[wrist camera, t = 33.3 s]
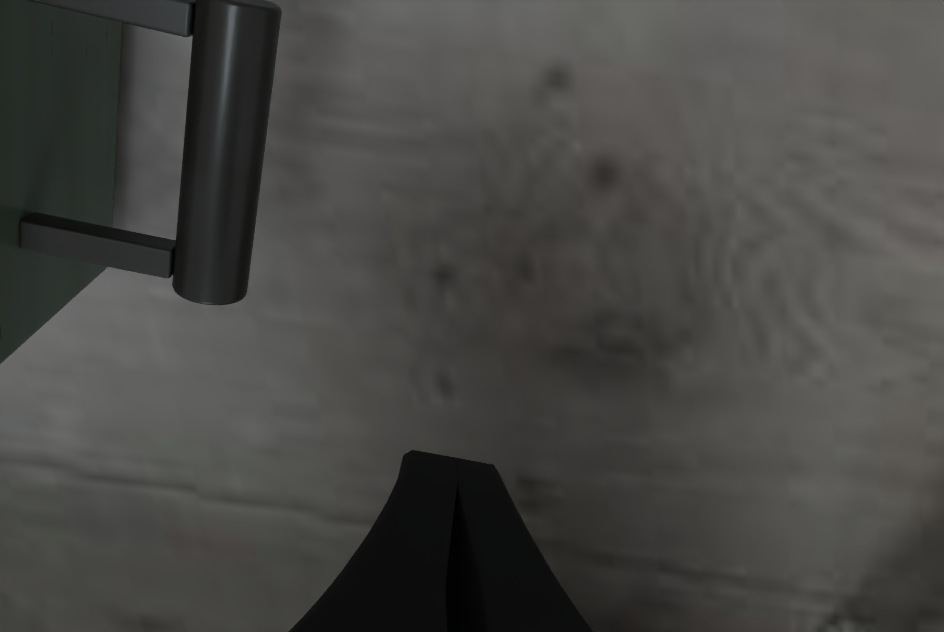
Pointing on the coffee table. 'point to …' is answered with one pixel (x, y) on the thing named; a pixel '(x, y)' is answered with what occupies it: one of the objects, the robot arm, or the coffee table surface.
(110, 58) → the drawer
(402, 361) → the coffee table surface
